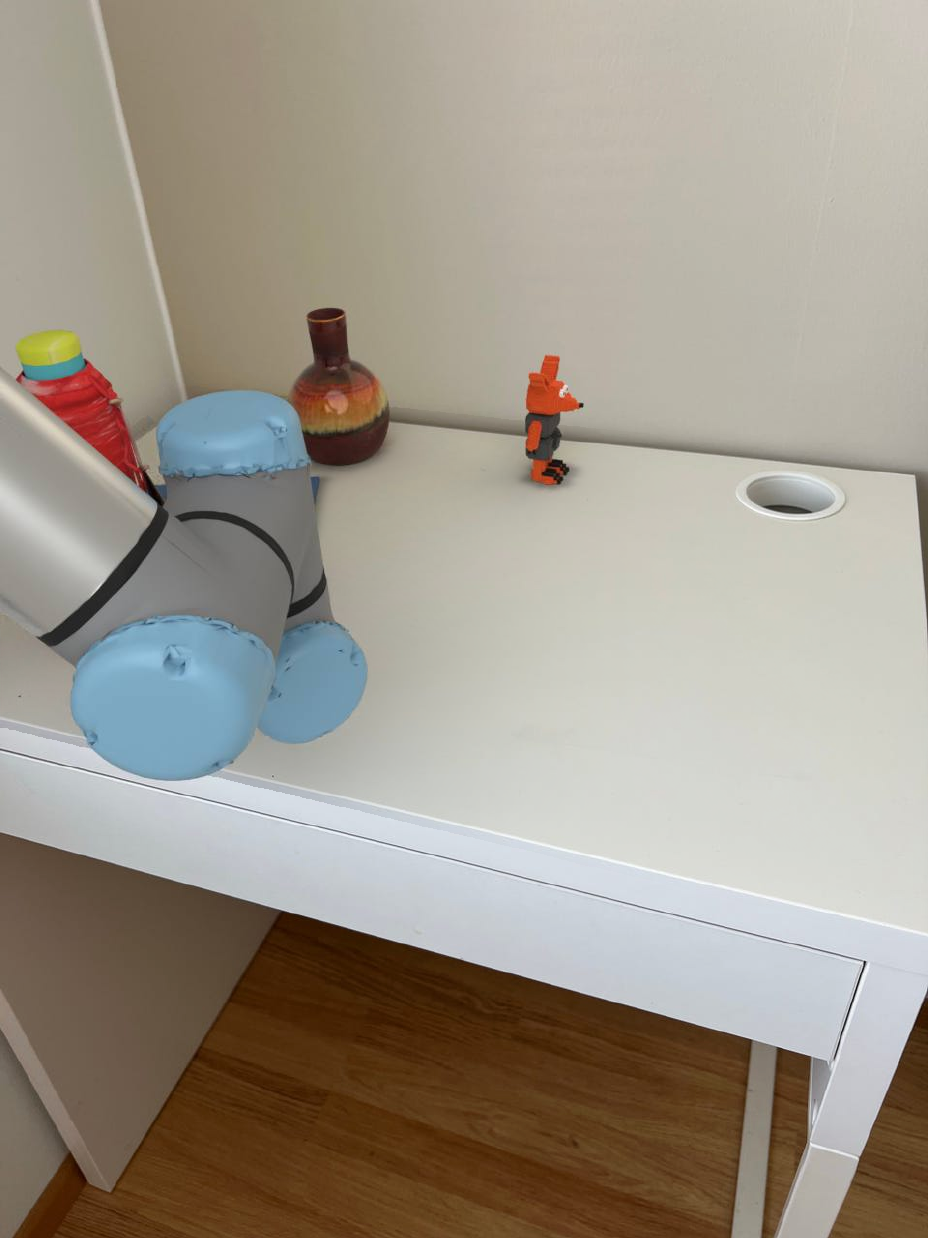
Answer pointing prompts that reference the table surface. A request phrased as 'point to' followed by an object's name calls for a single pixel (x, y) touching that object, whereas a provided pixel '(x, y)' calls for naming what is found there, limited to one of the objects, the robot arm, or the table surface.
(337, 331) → the vase
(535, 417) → the toy animal
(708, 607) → the table surface
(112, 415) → the water bottle
